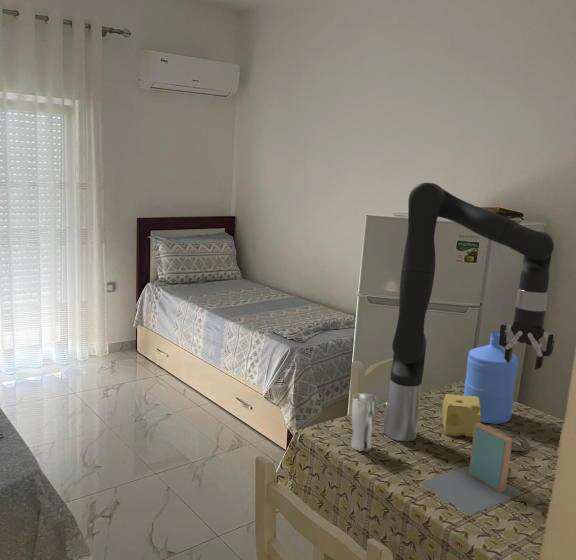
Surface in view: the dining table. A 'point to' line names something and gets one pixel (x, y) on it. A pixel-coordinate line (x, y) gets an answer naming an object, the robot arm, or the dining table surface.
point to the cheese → (460, 414)
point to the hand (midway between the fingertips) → (522, 365)
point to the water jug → (491, 381)
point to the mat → (468, 491)
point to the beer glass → (362, 420)
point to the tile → (490, 456)
